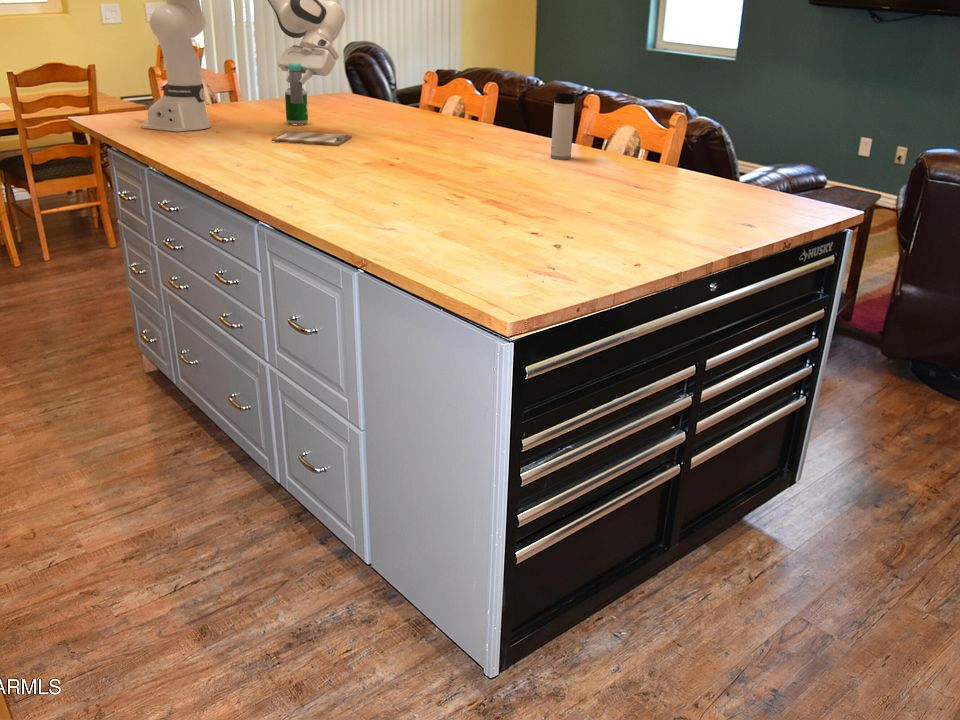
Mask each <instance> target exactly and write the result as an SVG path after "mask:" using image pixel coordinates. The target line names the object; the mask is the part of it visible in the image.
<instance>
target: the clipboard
mask: <svg viewBox="0 0 960 720" xmlns="http://www.w3.org/2000/svg"><path fill="white" fill-rule="evenodd" d="M351 138H352V134H347V133H346V134H345V133H344V134H343V133H342V134H339V133H338V134H337V133H321V132H307V131H305V132H304V131H293V130H292V131H290V130H289V131H285V132H283V133H282V134H279V135H277V136H275V137H274V138H271V142H272V141H275V142H274V143H280V142H289V143H288V144H296V143H304V144H303V145H312V144H315V145H314V146H316V145H317V146H331V147H332V146H333V147H340V146H341V145H343V144H345V142H347V141H348V140H351Z"/></svg>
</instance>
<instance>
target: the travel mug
mask: <svg viewBox="0 0 960 720" xmlns="http://www.w3.org/2000/svg"><path fill="white" fill-rule="evenodd" d="M575 100H576V94H575V93H566V92H563V91H558V92H556V91H555V93H554V102H553V104H554V105H553V112H552V115H553V116H552V128H551V129H552V131H551V145H550V158H551V159H553V160H557V159H559V161H565V160H566V161H567V159H568V160H570V159H571V158H572V149H573V148H572V147H573V146H572V145H573V136H574V135H573V132H574V121H575V119H574V118H575V104H576V101H575Z"/></svg>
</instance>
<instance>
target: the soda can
mask: <svg viewBox="0 0 960 720" xmlns="http://www.w3.org/2000/svg"><path fill="white" fill-rule="evenodd" d="M302 90H303V103H302V104H293V103H291V94H290V87H288V88H287V89H286V90H285V91H284V100H285V101H284V102H285V118H286V122H287V124H288V125H290V124H297V125H296V126H302V125H301V124H305V125H306V124H307V123H308V122H309V114H308V113H309V111H308V91H306V90H305V88H303V87H302ZM298 124H300V125H298Z"/></svg>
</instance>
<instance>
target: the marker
mask: <svg viewBox="0 0 960 720" xmlns="http://www.w3.org/2000/svg"><path fill="white" fill-rule="evenodd" d="M288 66H289V77H290V83H289V88H290V94H291V103H293V104H302V103H303V90H302V88H303V84H299V82H298V79H299V77H302V76H303V75H302V74H303V73H302V72H301V70H302V66H301V63H288Z"/></svg>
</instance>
